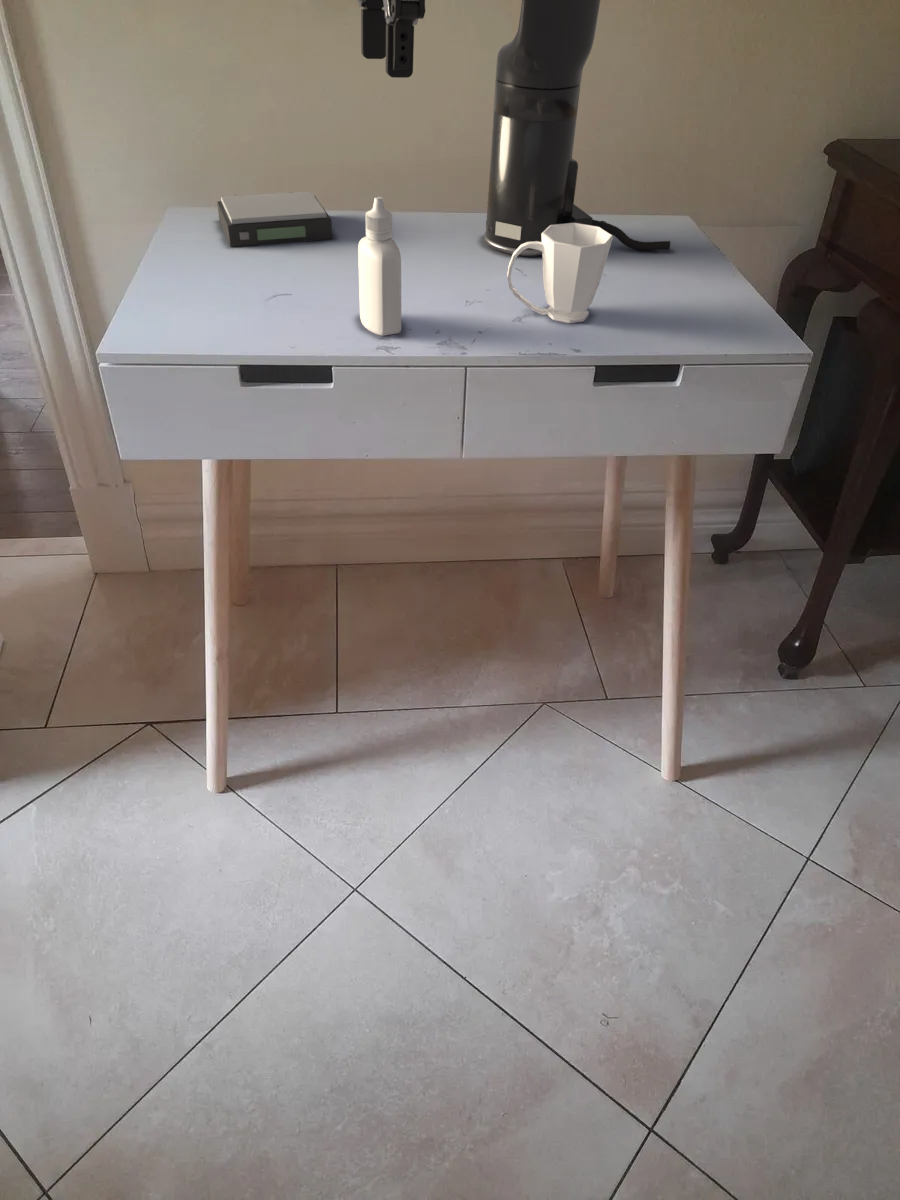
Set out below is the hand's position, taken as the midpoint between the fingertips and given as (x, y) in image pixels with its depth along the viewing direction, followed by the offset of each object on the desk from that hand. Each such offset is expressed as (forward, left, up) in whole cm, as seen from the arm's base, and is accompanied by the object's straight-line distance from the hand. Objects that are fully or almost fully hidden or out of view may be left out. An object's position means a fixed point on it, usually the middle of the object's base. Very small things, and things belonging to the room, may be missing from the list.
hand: (385, 67), depth 78 cm
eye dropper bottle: (+2, +5, -22) cm, 22 cm away
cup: (-16, +7, -22) cm, 28 cm away
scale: (+7, -24, -21) cm, 33 cm away
